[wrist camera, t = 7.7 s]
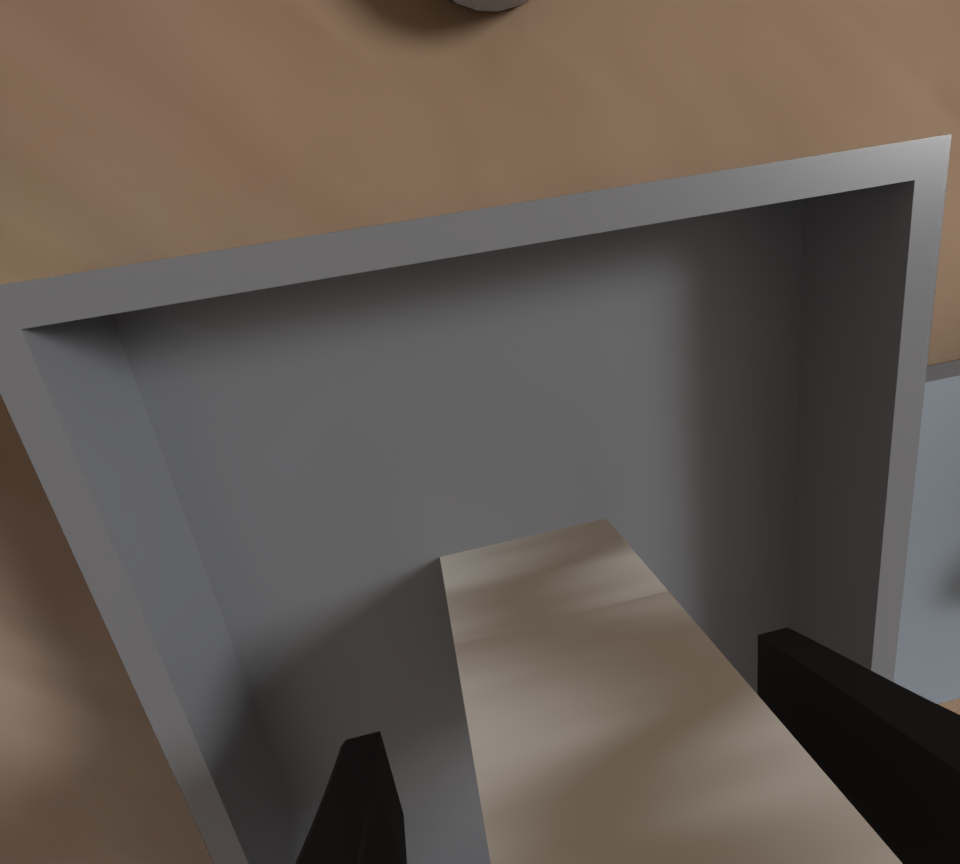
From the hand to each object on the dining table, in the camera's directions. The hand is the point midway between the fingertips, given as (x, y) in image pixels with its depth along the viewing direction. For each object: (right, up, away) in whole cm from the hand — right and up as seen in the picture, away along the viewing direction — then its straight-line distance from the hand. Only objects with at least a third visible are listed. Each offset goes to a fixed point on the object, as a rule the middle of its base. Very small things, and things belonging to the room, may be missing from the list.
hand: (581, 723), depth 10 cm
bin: (-1, +1, +4) cm, 4 cm away
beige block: (0, +1, +3) cm, 3 cm away
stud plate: (+13, +3, +5) cm, 15 cm away
